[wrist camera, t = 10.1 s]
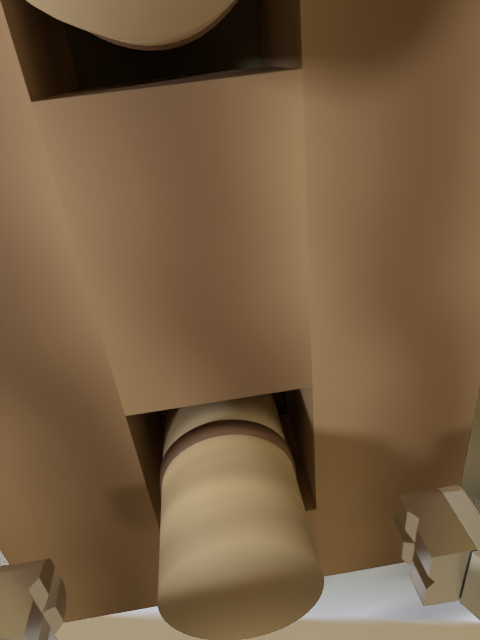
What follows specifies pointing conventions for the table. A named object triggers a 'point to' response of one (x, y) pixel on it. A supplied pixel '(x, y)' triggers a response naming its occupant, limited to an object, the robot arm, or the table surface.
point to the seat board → (237, 277)
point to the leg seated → (140, 20)
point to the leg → (232, 523)
